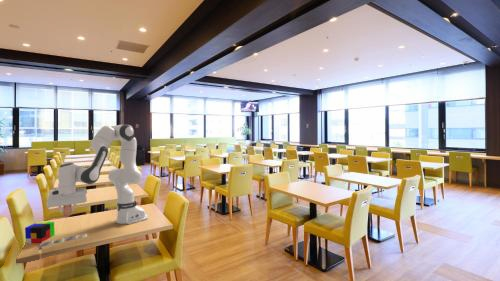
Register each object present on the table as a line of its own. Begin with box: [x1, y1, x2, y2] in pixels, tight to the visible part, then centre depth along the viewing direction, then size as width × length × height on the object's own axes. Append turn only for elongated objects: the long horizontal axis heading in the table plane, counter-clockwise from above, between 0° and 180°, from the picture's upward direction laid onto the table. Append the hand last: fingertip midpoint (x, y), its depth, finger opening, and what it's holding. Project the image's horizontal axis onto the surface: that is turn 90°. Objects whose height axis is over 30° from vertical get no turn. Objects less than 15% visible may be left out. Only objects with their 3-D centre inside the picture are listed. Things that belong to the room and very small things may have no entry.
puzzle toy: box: [24, 221, 55, 245], centre depth 164 cm, size 10×10×10 cm
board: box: [37, 233, 88, 251], centre depth 162 cm, size 25×8×1 cm, turn 128°
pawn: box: [63, 205, 73, 217], centre depth 162 cm, size 4×4×8 cm
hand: (67, 212), depth 162 cm, fingers closed on pawn, 4 cm apart
